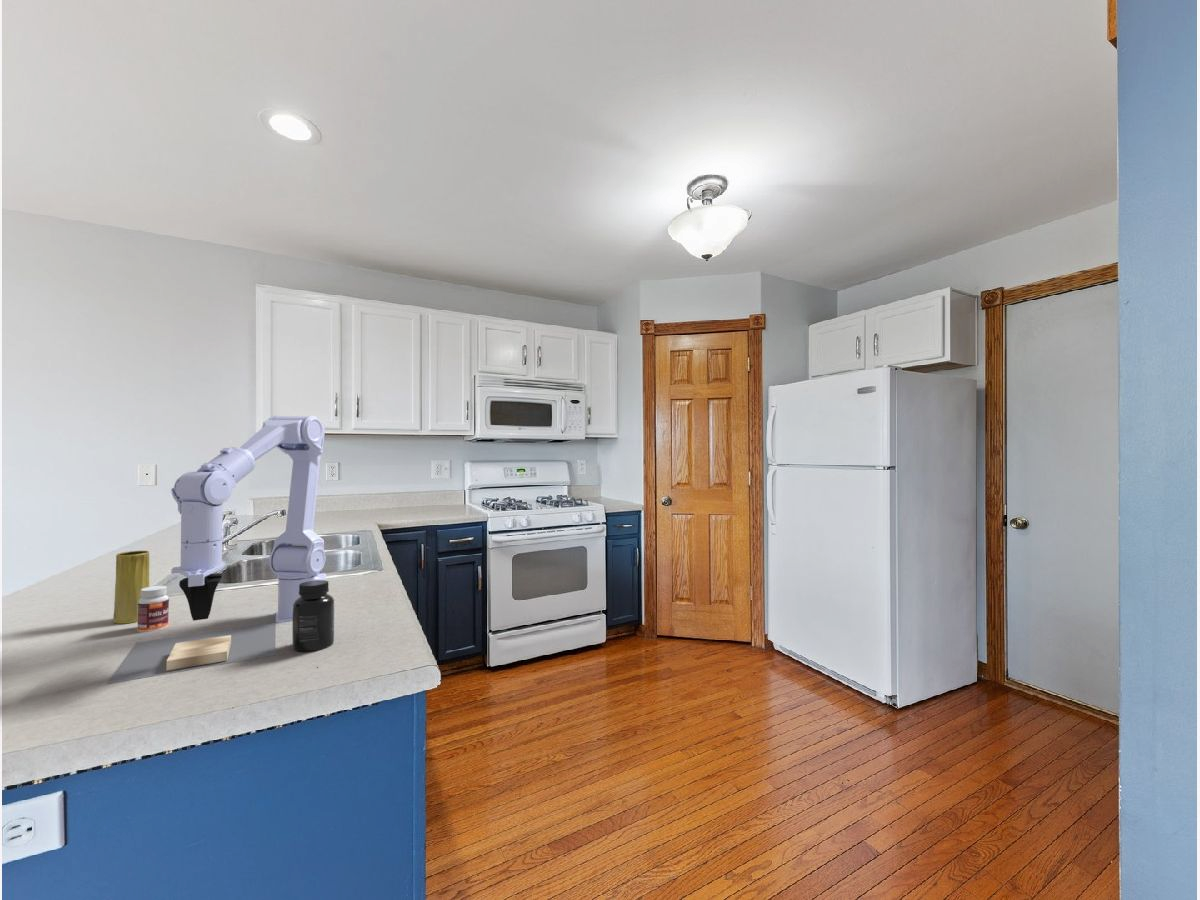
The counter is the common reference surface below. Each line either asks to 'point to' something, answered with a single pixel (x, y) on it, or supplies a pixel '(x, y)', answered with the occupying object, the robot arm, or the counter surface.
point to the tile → (199, 652)
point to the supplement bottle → (313, 617)
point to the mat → (154, 653)
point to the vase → (130, 584)
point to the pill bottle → (153, 609)
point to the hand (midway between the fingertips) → (200, 618)
